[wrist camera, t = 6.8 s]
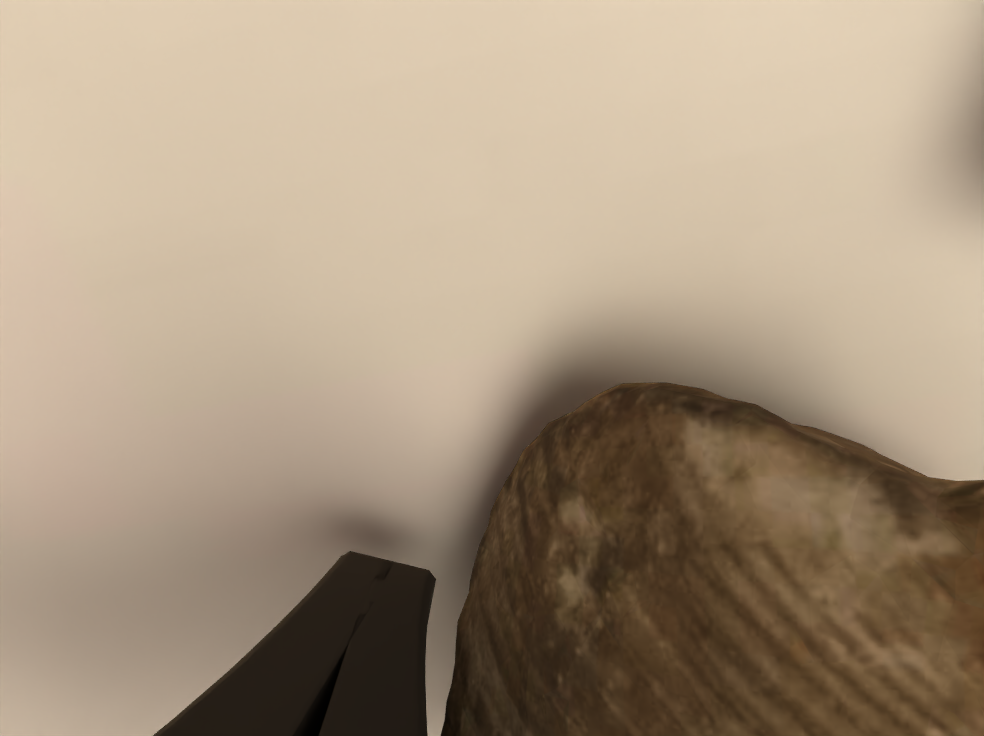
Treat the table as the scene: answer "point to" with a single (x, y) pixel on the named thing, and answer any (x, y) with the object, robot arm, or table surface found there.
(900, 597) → the fossilized seashell
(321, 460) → the table surface
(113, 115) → the table surface
